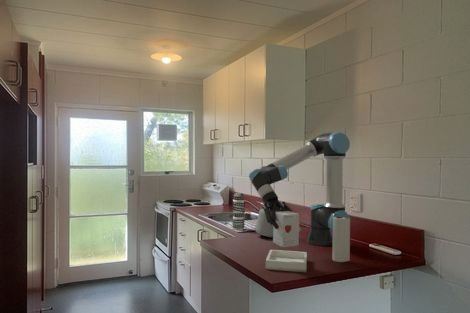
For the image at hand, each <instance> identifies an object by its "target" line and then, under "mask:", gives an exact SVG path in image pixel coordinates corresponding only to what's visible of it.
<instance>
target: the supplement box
mask: <svg viewBox="0 0 470 313" xmlns="http://www.w3.org/2000/svg"><path fill="white" fill-rule="evenodd" d="M275 217H276V221H278V222H279V224H280V226H281V227H282V229H283V231H284V233H283V234H282V236H280V235H279V233H278V231H277V229H275V227H274V228H273V237H272V243H273V244H276V245H278V246H279V247H281V248H285V247H289V248H290V247H296V246H297V247H298V246H299V244H300V243H299V242H300V239H299V238H300V231H299V227H300V213H298V212H294V211H292V212H291V211H280V212H275Z"/></svg>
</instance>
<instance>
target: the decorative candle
mask: <svg viewBox="0 0 470 313" xmlns="http://www.w3.org/2000/svg"><path fill="white" fill-rule="evenodd" d="M231 202H232V203H231V204H232V207H231V208H232V209H231V210H232V214H233V215H232V230H234V229H235V230H234V231H244V230H245V224H246V223H245V212H246V211H245V210H246V208H245V207H246V203H245V194H244V193H242V192H235V193H234V194H233V199H232V201H231ZM243 229H244V230H243Z"/></svg>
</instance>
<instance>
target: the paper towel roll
mask: <svg viewBox="0 0 470 313" xmlns="http://www.w3.org/2000/svg"><path fill="white" fill-rule="evenodd" d="M332 236H333V245H332V251H331V252H332V259H331V260H332V261H333V262H337V263H344V262H350V261H351V260H350V257H351V256H350V255H351V253H350V251H351V250H350V248H351V218H350V217H349V218H344V217H333V230H332Z"/></svg>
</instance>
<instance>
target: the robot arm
mask: <svg viewBox="0 0 470 313" xmlns="http://www.w3.org/2000/svg"><path fill="white" fill-rule="evenodd" d="M350 145H351V142H350V139H349V137H348V136H347V134H345V133H344V132H341V131H340V132H335V131H334V132H326V133H322V134H320V135H318V136H316V137H314V138H313V139H311V140H309V141H307V142H306V144H305V145H303V146H301V147H300V148H297V149H295V150H293V151H292V152H290V153H289V154H286V155H285V156H283V157H280V158H279V159H277V160H275V161H273V162H272V163H270V164H268V165H263V166H261V167H259V168H256V169H252V171H250V173H249V174H248V178H249V180H250V183H251V184H252V186H253V187H254V188H255V190H256V193H258V195H259V197H260V199H261V200H262V203H263V205H262V206H261V209H264V212H265V215H266V219H267V222H268V223H270V224H271V225H272V224H273V226H274V227H275V229H277V231H278V233H279V235H280V236H282V234H283V233H284V231H283V229H282V227H281V226H280V224H279V222H278V221H276V217H275V211H278V212H280V211H291V212H293V210H292V209H291V208H290V207H289V206H288V205H287V204H286V202H285V201H282V202H281V201H279V197H278V194H277V193H276V192H275V190H274V188H273V187H272V184H276V183H279V182H280V181H283V180H285V179H287V178H288V176H289V173H288V170H289V169H291V168H293V167H295V166H297V165H299V164H300V163H302V162H304V161H306V160H308V159H310V158H311V157H312V158H313V157H314V158H315V157H318V156H319V155H322V154H323V157H324V159H325V160H326V180H325V181H326V184H325V185H326V186H325V187H326V188H325V189H326V195H325V196H326V198H325V199H326V202H325V203H319V204H317V203H315V204H313V203H312V205H311V206H310V230H309V233H308V236H307V243H308V244H311V245H314V246H318V247H319V246H320V247H321V246H322V247H325V246H326V247H328V246H333V232H332V231H333V217H344V218H350V215H349V214H348V212H346V205H345V204H344V203H343V178H344V177H343V176H344V175H343V169H344V168H343V163H344V162H343V160H344V159H345V158H346V155H347V154H346V153H347V152H348V151H349V150H350V147H351V146H350ZM269 209H270V210H269ZM301 230H302V228H301V227H300V226H299V232H301Z"/></svg>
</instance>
